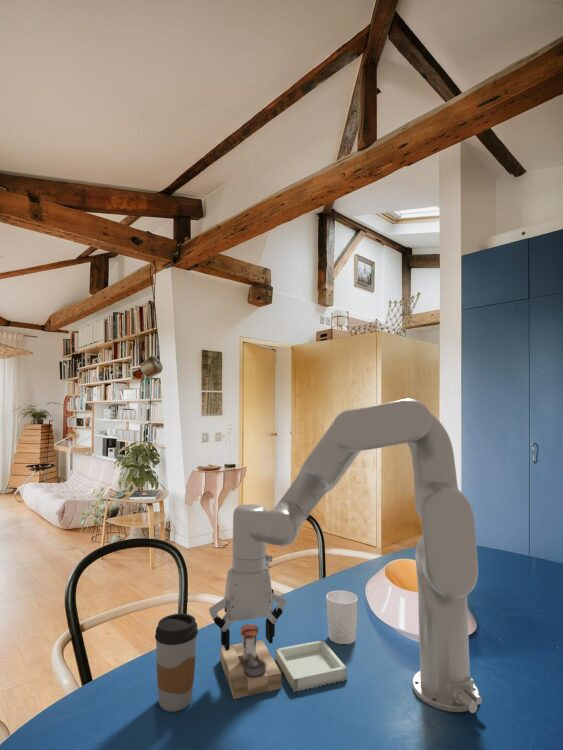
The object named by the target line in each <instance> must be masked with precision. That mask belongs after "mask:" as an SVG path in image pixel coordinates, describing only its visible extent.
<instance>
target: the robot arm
mask: <svg viewBox="0 0 563 750" xmlns="http://www.w3.org/2000/svg"><path fill="white" fill-rule="evenodd" d="M402 444H407V445H408V447H409V449H410V453H411V459H412V461H411V462H412V469H413V470H412V471H413V483H414V484H413V485H414V507H415V511H416V513H417V516H418V517H419V518H420V521H421V531H422V535H420V537H419V539H418V541H417V542H416V546H415V552H414V553H415V557H414V558H415V568H416V579H417V580H416V582H417V598H418V609H417V610H418V634H419V635H418V639H419V641H418V642H419V643H418V645H419V671H417V673H415V674H414V675H413V678H412V688H413V691H414V693H415V694H416V696H417V697H418V698H419V699H420V700H422V702H424V703H425V704H427V705H429V706H431V707H433V708H435V709H438V710H441V711H444V712H450V713H464V712H469V713H471V714H475V713H476V712H477V710H478V707H479V706H478V705H481V704H482V703H483V698H482V696H480V692H479V689H478V687H477V686H476V684H475V683H474V679H473V678H472V677H471V675H470V674H471V673H470V672H471V671H470V670H471V669H470V645H469V616H468V615H469V610H468V595H469V594H470V593H471V592H472V591H473V590H474V589H475V587H476V584H477V581H478V577H479V563H478V550H477V549H478V548H477V538H476V537H477V535H476V524H475V517H474V512H473V509H472V505H471V503H470V501H469V499H468V498H467V497H466V495H465V494H464V493H463V492H462V491H461V490H459V486H458V479H457V471H456V470H457V469H456V463H455V462H456V461H455V454H454V448H453V444H452V441H451V438H450V435H449V434H448V432H447V430H446V428H445V427H444V425H443V423H442V422H441V421H440V420H439V419H438V418H437V417H436V415H434V414H433V413H431V412H430V409H428V407H427V405H425V404H424V403H423V402H422V401H419V400H417V399H414V398H403V399H399V400H395V401H390V402H389V401H388V402H385V403H380V404H376V405H371V406H365V407H359V408H352V409H351V408H350V409H346V410H343V411H341V412H339V414H338V415H336V417H335V418H334V420H333V422H332V423H331V424H330V426H329V427H328V429H327V430H326V431H325V433H324V434H323V435H322V437H321V438H320V439H319V441H318V442H317V444H316V445H315V446H314V448H313V449H312V450H311V452H310V454H309V455H308V456H307V458H306V459H305V461H304V462H303V464H302V466H301V468H300V470H299V473H298V474H297V476H296V478H294V481H293V483H292V484H291V485H290V486H289V488H288V489H287V491H286V492H285V493H284V495H283V496H282V497H281V499H280V500H279V502H278V503H277V504H276V505H275V507H274V508H273V509H270V510H266V508H265V507H264V506H262V505H259V504H241V505H238V506H237V507H235V509H234V510H233V513H232V514H233V515H232V558H231V559H232V561H231V562H232V564H231V566H232V567H229V568H228V571H227V574H226V580H225V589H224V598H222V599H221V600H220V601H218V602H216V603H215V604H213V605H212V606H211V607H209V608H208V612H209V614H210V616H211V618H212V620H213V622H214V624H215V625H216V626H217V627H218V628H219V629H220V644H221V646H223V647H225V650H226V651H228V650H229V645H230V644H231V643H230V639H231V638H230V635H231V634H230V633H231V631H230V629H229V628H230V626H231V625H232V624H233V622H238V621H246V620H252V619H260V618H265V617H266V620H265V638H266V641H267V642H268V643H269V644H273V642H274V641H273V640H274V639H273V638H274V637H275V636H276V635H275V627H276V623H277V621H278V620H279V618H280V617H281V616H282V614H283V610H284V609H285V607H286V605H287V600H286V598H285V597H283V596H281V595H279V594H276V593H273V590H272V581H271V575H270V574H271V573H270V569H269V567H268V563H272V562H273V556H272V555H270V554H269V555H268V554H267V544H269V545H273V546H277V547H286V546H290V545H291V544H292V543H294V542H295V541H296V540H297V538H298V536H299V533H300V532H301V531H300V530H301V528H302V526H303V524H304V523H305V521H306V520H307V519H308V517H309V516H310V514H311V513H312V512H313V510H314V509H315V507H316V506H317V505H318V504H319V502H320V501H321V500H322V499H323V497H324V496H325V495H326V494H327V493H329V492H330V491H332V490H333V489H334V488H335V487H336V486H337V485H338V483H339V482H340V481H341V479H342V478H343V477H344V475H345V474H346V473H347V471H348V470H349V468H350V467H351V466H352V464H353V463H354V461H355V460H356V459H357V457H358V456H359V454H360V453H361V452H362V451H369V450H370V451H371V450H377V449H382V448H386V447H390V446H391V447H392V446H398V445H402ZM273 602H275V603H277V605H276V607H274V608H273ZM221 610H223V611H224V612H225V614H224V616H223V617H222V618H221V617H220V616H219V615H218V613H219V612H220V611H221Z"/></svg>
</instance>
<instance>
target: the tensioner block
mask: <svg viewBox="0 0 563 750" xmlns="http://www.w3.org/2000/svg"><path fill="white" fill-rule="evenodd" d="M219 647H220V651H219V652H220V654H219V659H220V660H219V661H220V664H221V667H222V669H223V674H224V675H225V678H226V681H227V684H228V687H229V689H230V692H231V695H232V697H233V699H234V700H236V699H240V698H245V697H249V696H254V695H257V694H262V693H268V692H272V691H276V690H281V689H282V671H281V669H280V667H279V666H278V664H277V662H276V660H275V659H274V658H273V656H272V654H271V653H270V652H271V651H269V649H268V647H267V646H266V644H265V642H264V640H263V639H258V640H257V639H256V660H252V661H249V662H247V663H246V664H245V666H243V667H242V643H236V644H229V650H228V651H226V650H225V647H224V646H219Z"/></svg>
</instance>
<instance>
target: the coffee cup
mask: <svg viewBox="0 0 563 750" xmlns="http://www.w3.org/2000/svg"><path fill="white" fill-rule="evenodd" d="M198 633H199V631H198V623H197V622H196V618H195V617H194V616H193V615H192V614H188V613H173V614H169V615H166V616H164V617H162V618H161V619H160V620H158V623H157V626H156V628H155V634H154V638H155V645H156V677H157V679H156V680H157V681H156V683H157V689H158V690H157V692H158V704H159V706H160V708H161V709H162V710H164V711H166V712H178V711H181V710H184V709H185V708H187V707H189V704H190V703H191V701H192V698H193V692H194V691H193V690H194V680H195V670H196V669H195V667H196V651H197V648H196V647H197V637H198Z"/></svg>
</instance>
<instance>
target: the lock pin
mask: <svg viewBox="0 0 563 750" xmlns="http://www.w3.org/2000/svg"><path fill="white" fill-rule="evenodd" d="M258 634H259V626H258V625H256V624H253V623H248V624H244V625H242V626H241V627H240V635H241V636H242V639H241V640H242V667H243V666H245V664H246V663H247V662H249V661H252V660H256V641H257V635H258Z"/></svg>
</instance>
